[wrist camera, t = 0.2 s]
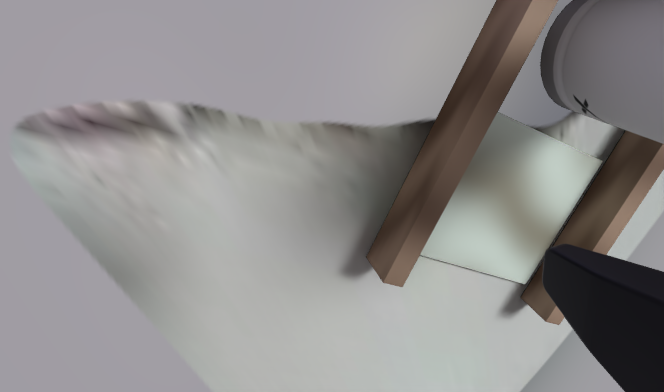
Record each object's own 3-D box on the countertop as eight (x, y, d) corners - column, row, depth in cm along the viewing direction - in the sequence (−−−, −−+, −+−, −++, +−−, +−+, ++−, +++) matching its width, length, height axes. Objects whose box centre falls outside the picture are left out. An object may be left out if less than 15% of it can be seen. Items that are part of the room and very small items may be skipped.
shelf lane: (533, 300, 32) (602, 364, 27) (366, 257, 27) (412, 326, 22) (730, -7, 27) (865, -1, 21) (568, -142, 21) (698, -177, 16)
